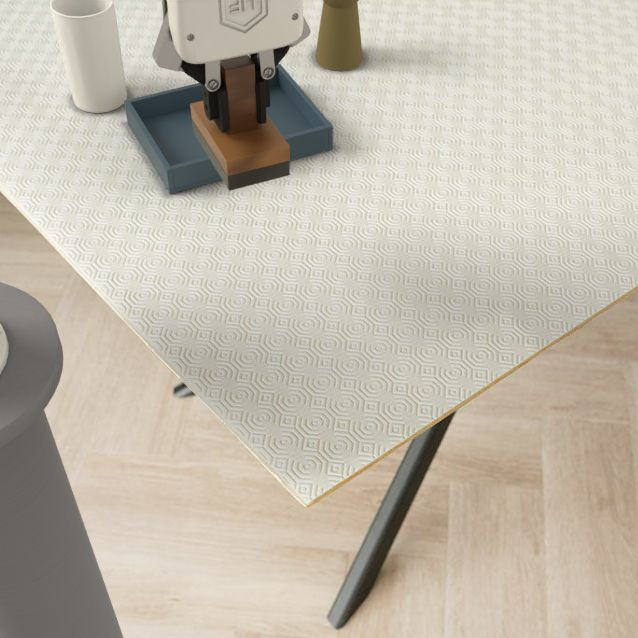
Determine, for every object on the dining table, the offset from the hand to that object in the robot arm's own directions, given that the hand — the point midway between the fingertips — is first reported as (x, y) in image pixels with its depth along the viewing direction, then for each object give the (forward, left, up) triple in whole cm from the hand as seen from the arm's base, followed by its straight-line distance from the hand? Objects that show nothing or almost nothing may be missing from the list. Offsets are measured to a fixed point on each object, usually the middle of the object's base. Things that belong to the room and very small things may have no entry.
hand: (238, 117), depth 76 cm
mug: (-4, +36, -17) cm, 40 cm away
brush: (0, 0, -4) cm, 4 cm away
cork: (+26, +31, -17) cm, 44 cm away
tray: (+7, +21, -17) cm, 28 cm away
